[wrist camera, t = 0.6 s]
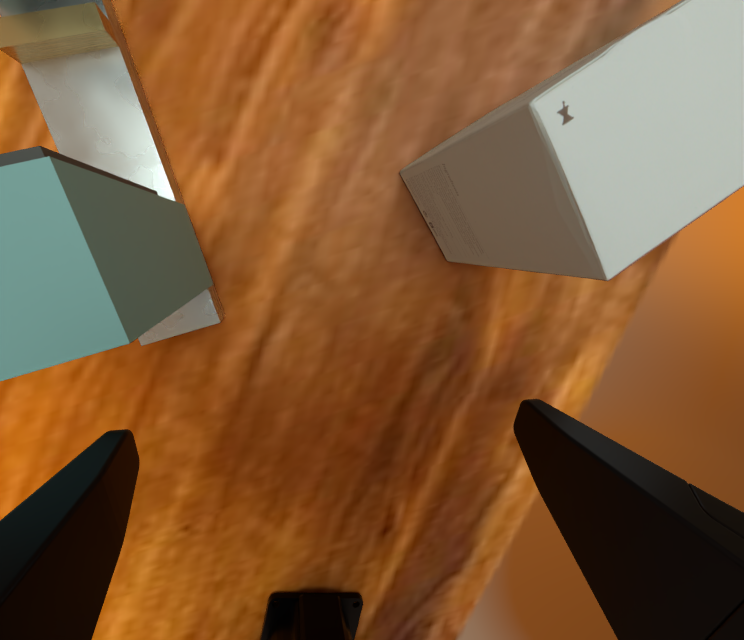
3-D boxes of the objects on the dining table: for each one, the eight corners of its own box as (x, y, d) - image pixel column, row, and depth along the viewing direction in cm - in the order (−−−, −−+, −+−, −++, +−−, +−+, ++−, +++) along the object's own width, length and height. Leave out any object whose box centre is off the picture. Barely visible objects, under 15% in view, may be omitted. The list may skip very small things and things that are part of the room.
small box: (446, 263, 25) (606, 288, 13) (396, 171, 24) (525, 97, 11) (548, 195, 26) (794, 156, 14) (507, 100, 24) (747, -44, 12)
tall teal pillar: (213, 284, 20) (129, 343, 9) (114, 312, 20) (-116, 415, 8) (179, 191, 19) (34, 124, 8) (73, 217, 19) (-261, 184, 7)
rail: (232, 313, 23) (168, 416, 10) (145, 338, 22) (-53, 488, 9) (82, -105, 18) (-463, -1057, 5) (-35, -90, 17) (-1069, -1174, 4)
